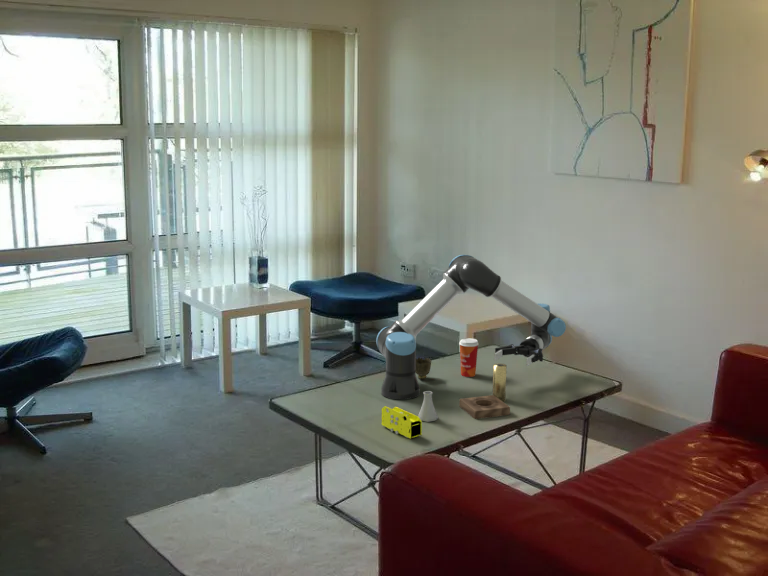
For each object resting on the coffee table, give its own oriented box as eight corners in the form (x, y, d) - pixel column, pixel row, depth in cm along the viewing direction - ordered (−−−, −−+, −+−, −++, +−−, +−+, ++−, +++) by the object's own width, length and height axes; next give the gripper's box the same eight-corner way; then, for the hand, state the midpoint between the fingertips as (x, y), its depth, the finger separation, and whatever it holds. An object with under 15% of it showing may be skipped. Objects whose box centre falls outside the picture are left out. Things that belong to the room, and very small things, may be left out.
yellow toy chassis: (380, 427, 298) (380, 404, 296) (393, 423, 302) (393, 401, 300) (409, 441, 286) (409, 417, 284) (422, 437, 289) (422, 414, 288)
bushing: (495, 402, 323) (496, 367, 320) (490, 398, 327) (491, 363, 324) (507, 401, 324) (508, 366, 321) (501, 397, 329) (502, 362, 326)
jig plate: (475, 419, 306) (475, 411, 305) (459, 406, 319) (459, 398, 318) (509, 414, 310) (510, 407, 309) (493, 402, 323) (493, 394, 322)
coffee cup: (454, 373, 358) (455, 339, 355) (471, 370, 361) (472, 337, 358) (464, 379, 351) (465, 344, 348) (481, 376, 354) (482, 342, 351)
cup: (432, 376, 354) (433, 358, 352) (429, 381, 347) (429, 363, 346) (415, 374, 356) (415, 356, 354) (411, 380, 349) (411, 361, 347)
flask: (413, 418, 306) (413, 392, 304) (427, 413, 311) (427, 387, 309) (428, 423, 301) (428, 397, 299) (441, 418, 306) (442, 392, 304)
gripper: (559, 359, 343) (540, 373, 326) (503, 350, 356) (481, 364, 338) (560, 341, 342) (541, 355, 324) (503, 333, 354) (481, 346, 337)
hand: (510, 359), depth 331 cm, fingers open, 13 cm apart
